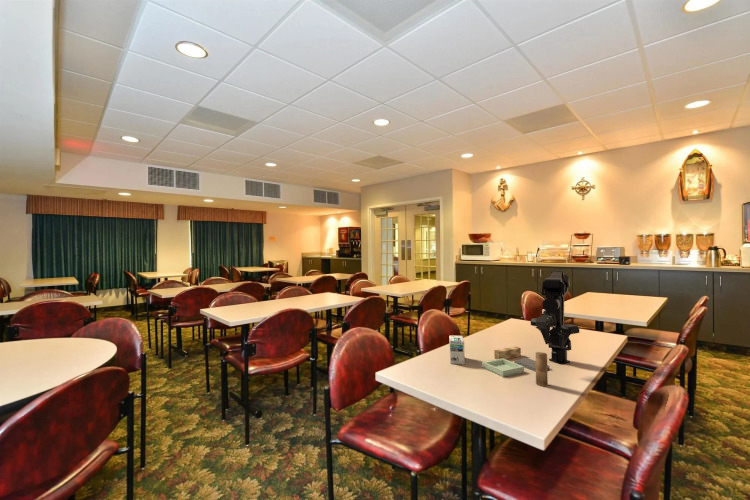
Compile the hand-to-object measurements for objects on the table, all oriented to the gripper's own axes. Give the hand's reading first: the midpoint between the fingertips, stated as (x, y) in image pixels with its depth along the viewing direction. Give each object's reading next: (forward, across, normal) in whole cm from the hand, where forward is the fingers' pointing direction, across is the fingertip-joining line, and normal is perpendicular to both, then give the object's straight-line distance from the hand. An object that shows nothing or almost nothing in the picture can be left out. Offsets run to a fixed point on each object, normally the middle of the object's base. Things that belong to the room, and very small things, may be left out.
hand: (553, 346), depth 136 cm
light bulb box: (+12, -32, -25) cm, 43 cm away
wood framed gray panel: (+13, -12, 0) cm, 17 cm away
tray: (+12, -14, -15) cm, 23 cm away
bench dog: (+12, -25, 0) cm, 28 cm away
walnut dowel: (+12, +4, -13) cm, 18 cm away
